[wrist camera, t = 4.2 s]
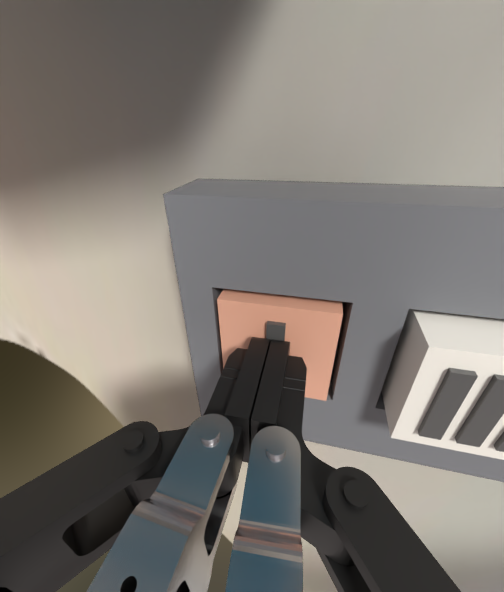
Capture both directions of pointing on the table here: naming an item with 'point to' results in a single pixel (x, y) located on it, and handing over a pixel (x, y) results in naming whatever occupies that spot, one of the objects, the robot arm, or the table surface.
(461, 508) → the table surface
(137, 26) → the table surface
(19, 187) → the table surface
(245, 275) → the button panel
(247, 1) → the table surface
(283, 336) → the button one
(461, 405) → the button three
